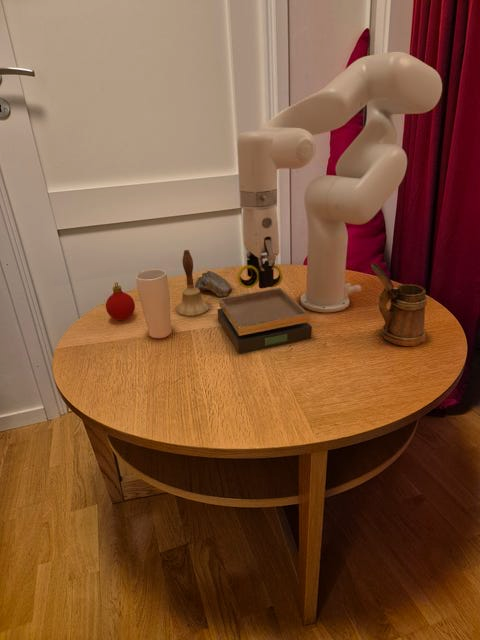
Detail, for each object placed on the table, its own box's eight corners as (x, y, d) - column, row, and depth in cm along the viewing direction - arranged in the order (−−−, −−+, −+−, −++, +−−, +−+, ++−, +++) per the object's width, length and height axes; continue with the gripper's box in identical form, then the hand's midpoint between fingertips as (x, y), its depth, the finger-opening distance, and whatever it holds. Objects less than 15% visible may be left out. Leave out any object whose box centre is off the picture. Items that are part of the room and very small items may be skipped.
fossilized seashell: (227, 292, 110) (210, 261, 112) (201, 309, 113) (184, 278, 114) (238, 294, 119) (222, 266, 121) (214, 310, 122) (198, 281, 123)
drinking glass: (169, 341, 92) (159, 280, 86) (141, 340, 94) (130, 279, 87) (178, 327, 98) (170, 269, 91) (152, 326, 100) (142, 268, 93)
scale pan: (280, 294, 103) (280, 287, 102) (308, 321, 89) (309, 313, 88) (219, 305, 99) (218, 298, 98) (239, 336, 85) (238, 327, 84)
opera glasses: (281, 283, 93) (280, 261, 91) (283, 287, 87) (282, 264, 86) (238, 284, 93) (237, 263, 92) (238, 289, 88) (236, 266, 86)
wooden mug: (355, 331, 92) (362, 255, 84) (411, 324, 94) (423, 249, 86) (372, 351, 85) (382, 270, 76) (433, 343, 86) (449, 262, 78)
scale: (281, 307, 105) (281, 295, 104) (311, 338, 90) (312, 324, 89) (218, 320, 101) (217, 306, 99) (239, 354, 86) (238, 339, 85)
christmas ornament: (132, 324, 101) (125, 287, 96) (104, 325, 102) (96, 288, 97) (140, 312, 107) (133, 276, 103) (114, 312, 108) (106, 277, 103)
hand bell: (171, 309, 108) (163, 251, 100) (197, 300, 112) (190, 243, 105) (189, 319, 102) (181, 258, 95) (215, 309, 107) (210, 250, 99)
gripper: (293, 204, 76) (291, 292, 84) (260, 190, 90) (262, 266, 99) (255, 208, 74) (257, 298, 82) (228, 193, 89) (232, 271, 97)
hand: (260, 280), depth 90 cm, fingers closed on opera glasses, 6 cm apart
